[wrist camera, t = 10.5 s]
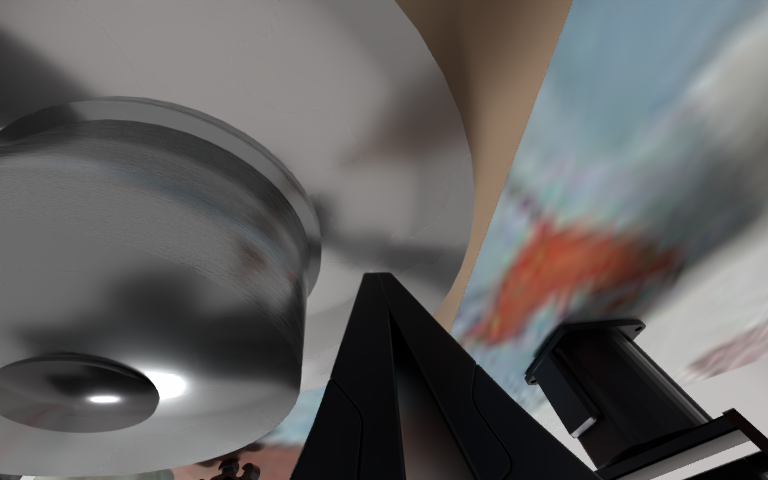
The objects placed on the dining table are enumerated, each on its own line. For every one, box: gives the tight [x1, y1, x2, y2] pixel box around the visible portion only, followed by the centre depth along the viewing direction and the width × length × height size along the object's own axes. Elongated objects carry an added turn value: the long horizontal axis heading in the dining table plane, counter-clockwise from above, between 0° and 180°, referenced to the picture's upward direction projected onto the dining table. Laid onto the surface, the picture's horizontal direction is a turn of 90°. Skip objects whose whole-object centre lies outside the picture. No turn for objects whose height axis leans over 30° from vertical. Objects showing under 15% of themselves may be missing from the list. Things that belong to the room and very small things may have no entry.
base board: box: [395, 0, 573, 333], centre depth 10 cm, size 19×19×1 cm
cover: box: [0, 96, 322, 477], centre depth 6 cm, size 7×7×4 cm
